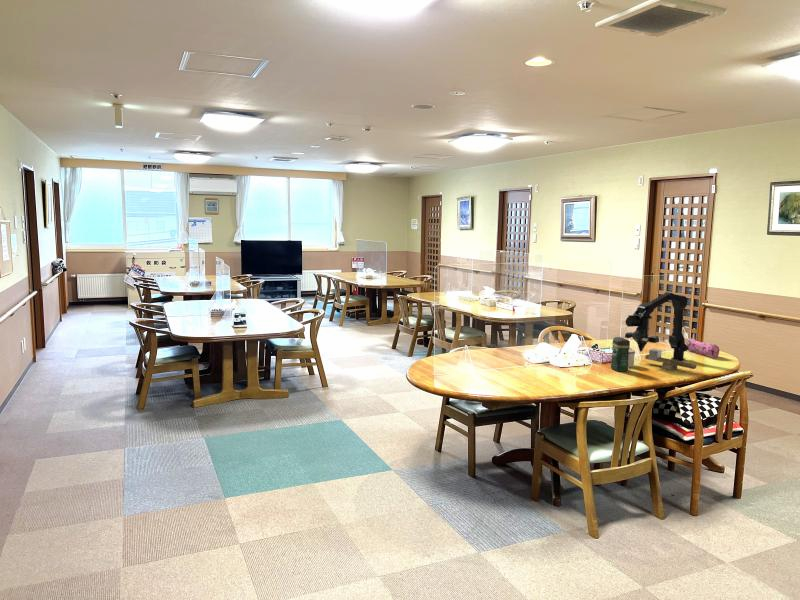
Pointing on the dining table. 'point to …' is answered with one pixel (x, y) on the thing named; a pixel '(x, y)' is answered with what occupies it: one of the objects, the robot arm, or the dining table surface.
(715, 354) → the pencil case
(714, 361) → the dining table surface
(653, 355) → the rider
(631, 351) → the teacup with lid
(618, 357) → the coffee jar
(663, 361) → the beam
